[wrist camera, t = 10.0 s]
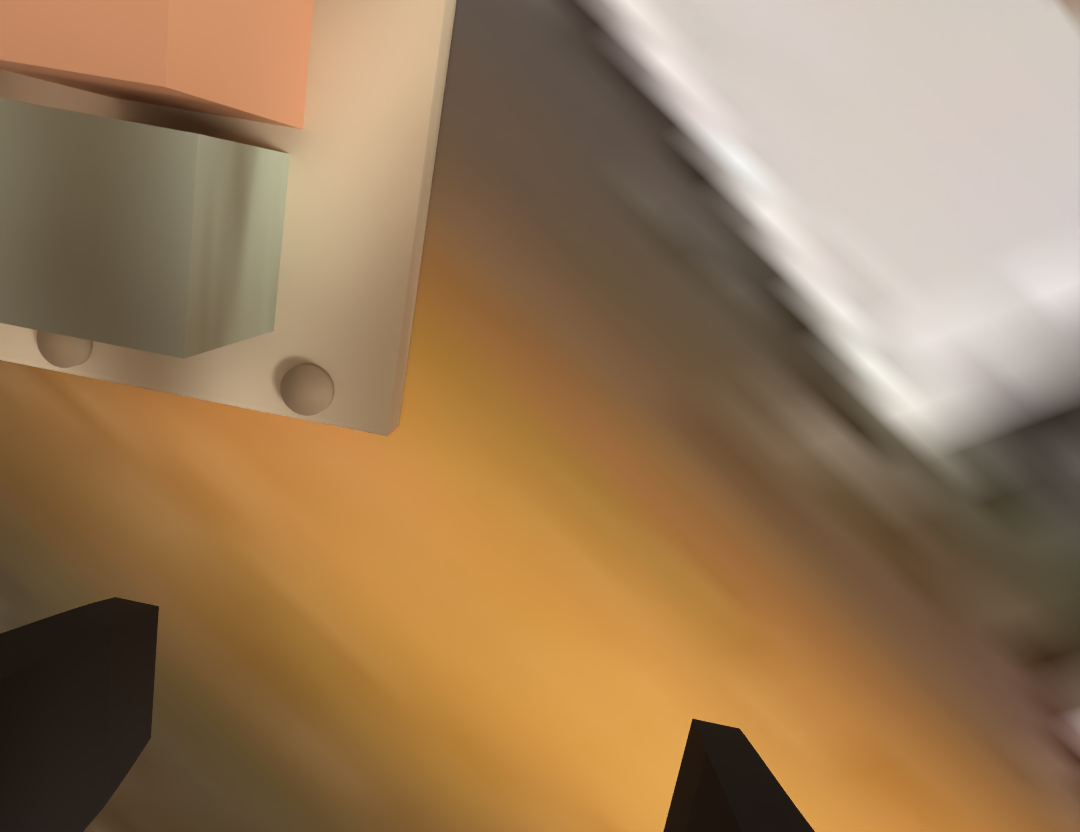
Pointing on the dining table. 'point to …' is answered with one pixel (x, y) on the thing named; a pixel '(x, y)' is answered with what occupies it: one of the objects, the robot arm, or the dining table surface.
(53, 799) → the robot arm
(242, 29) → the terracotta block
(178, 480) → the dining table surface
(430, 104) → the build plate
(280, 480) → the dining table surface
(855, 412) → the dining table surface
